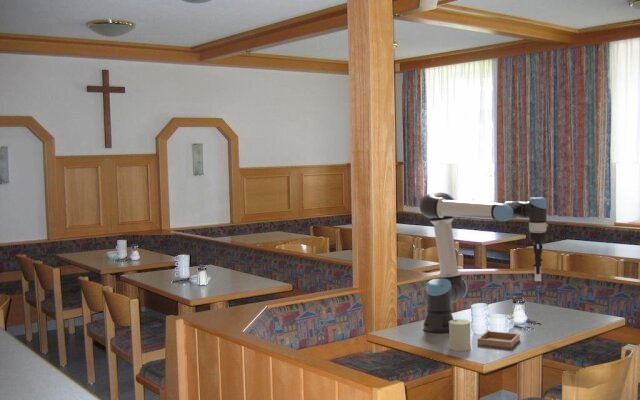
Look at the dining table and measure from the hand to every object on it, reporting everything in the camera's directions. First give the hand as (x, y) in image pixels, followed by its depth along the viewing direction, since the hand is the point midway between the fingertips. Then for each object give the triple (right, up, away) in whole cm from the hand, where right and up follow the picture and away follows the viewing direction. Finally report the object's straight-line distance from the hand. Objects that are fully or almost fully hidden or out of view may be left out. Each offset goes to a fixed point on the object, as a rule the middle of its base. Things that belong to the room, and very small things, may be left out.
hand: (537, 278), depth 317 cm
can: (-38, -29, -16) cm, 50 cm away
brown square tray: (-20, -27, -10) cm, 35 cm away
